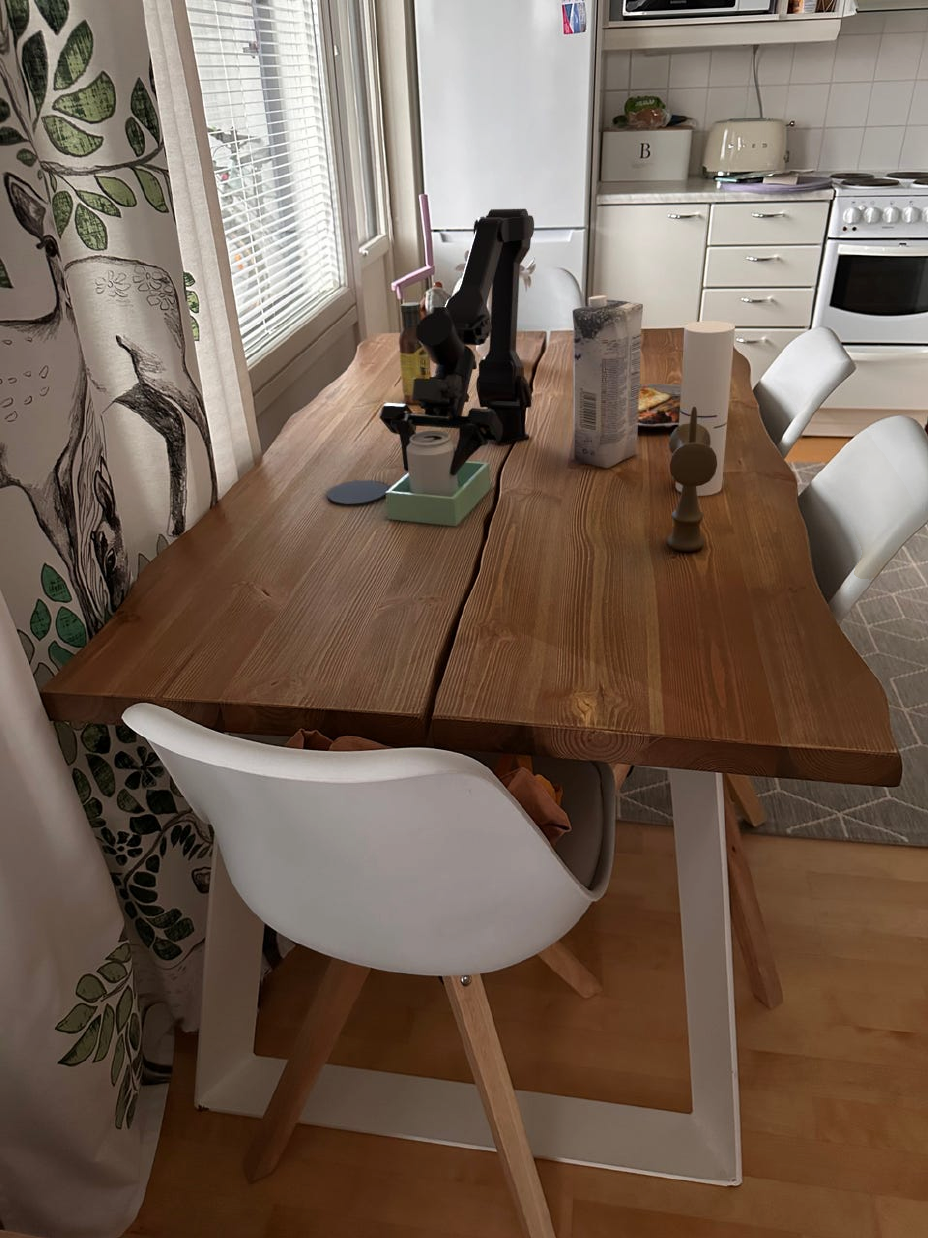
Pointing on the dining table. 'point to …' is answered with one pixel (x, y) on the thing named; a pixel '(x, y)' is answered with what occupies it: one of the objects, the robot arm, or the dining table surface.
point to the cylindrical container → (708, 387)
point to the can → (431, 464)
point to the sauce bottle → (412, 351)
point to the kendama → (690, 480)
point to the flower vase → (524, 274)
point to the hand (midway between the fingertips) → (428, 472)
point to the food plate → (659, 405)
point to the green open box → (440, 498)
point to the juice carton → (606, 380)
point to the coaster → (357, 493)
